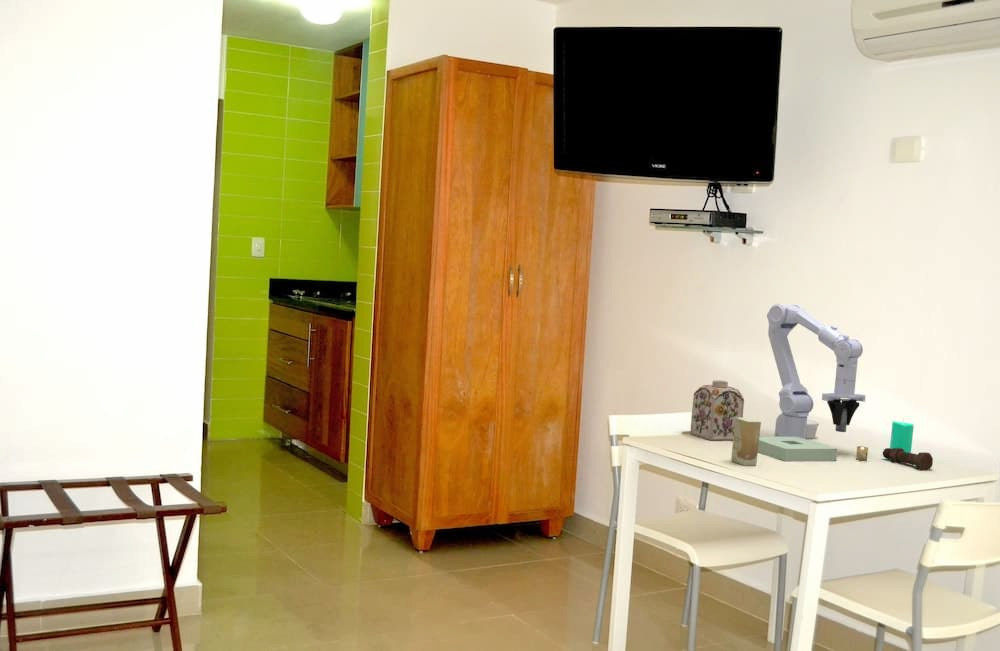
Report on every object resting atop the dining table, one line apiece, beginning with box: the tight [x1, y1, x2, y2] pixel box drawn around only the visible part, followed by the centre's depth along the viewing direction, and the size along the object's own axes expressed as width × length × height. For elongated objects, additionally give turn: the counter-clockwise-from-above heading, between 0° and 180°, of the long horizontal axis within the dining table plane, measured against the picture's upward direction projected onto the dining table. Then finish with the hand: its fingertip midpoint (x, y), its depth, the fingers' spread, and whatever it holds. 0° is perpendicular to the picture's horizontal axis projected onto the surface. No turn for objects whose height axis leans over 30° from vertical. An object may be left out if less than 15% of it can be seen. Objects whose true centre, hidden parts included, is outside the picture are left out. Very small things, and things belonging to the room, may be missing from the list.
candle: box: [889, 418, 915, 453], centre depth 289 cm, size 6×6×12 cm
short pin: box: [855, 445, 869, 462], centre depth 279 cm, size 3×3×4 cm
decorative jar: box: [690, 379, 745, 441], centre depth 302 cm, size 12×12×18 cm
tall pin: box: [835, 408, 848, 433], centre depth 287 cm, size 3×3×7 cm
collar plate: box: [758, 436, 838, 462], centre depth 281 cm, size 18×18×4 cm
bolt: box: [882, 447, 934, 471], centre depth 278 cm, size 6×5×15 cm
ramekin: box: [805, 419, 820, 440], centre depth 316 cm, size 11×11×5 cm
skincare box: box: [730, 417, 762, 466], centre depth 262 cm, size 6×4×12 cm
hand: (841, 424), depth 287 cm, fingers closed on tall pin, 3 cm apart
